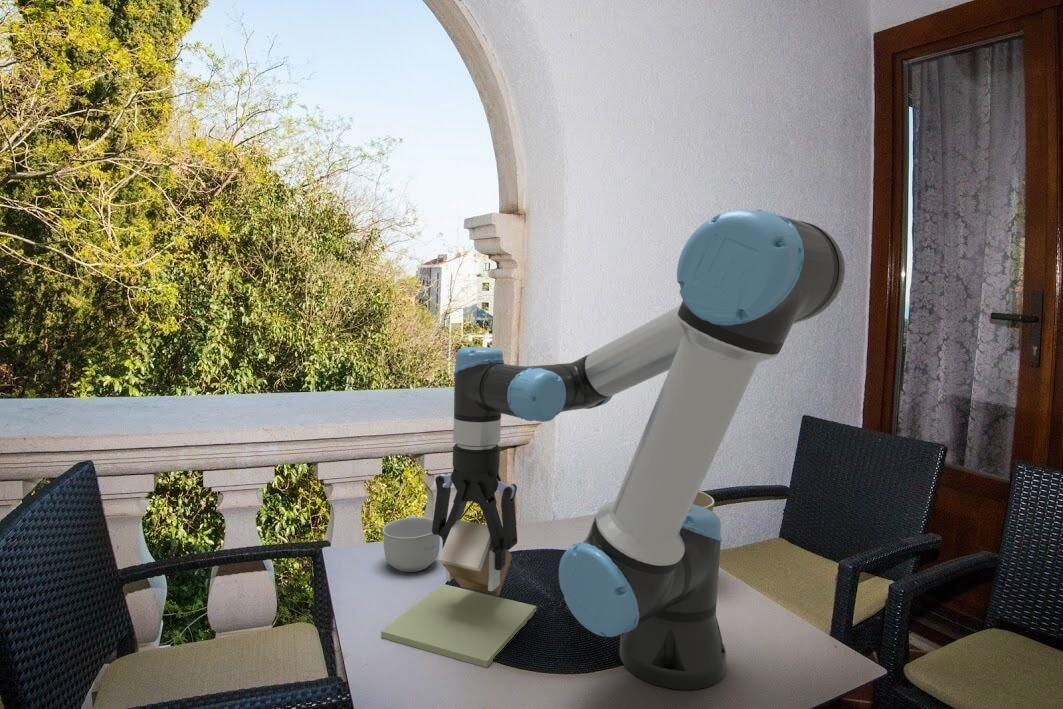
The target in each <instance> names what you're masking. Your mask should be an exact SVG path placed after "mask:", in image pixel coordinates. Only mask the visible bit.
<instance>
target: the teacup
mask: <svg viewBox="0 0 1063 709" xmlns="http://www.w3.org/2000/svg"><path fill="white" fill-rule="evenodd" d="M432 525H433V518H430V517H428V516H427V517H423V516H417V514H409V515H408V517H403V518H402V517H401V518H399V519H394V520H392V521H390V522H388V523H386V524H385V525H384V526H383V527H382V529H381V530H382V531H381V532H382V537H383V539H382V540H383V550H384V552H383V553H384V556H385V560H386V561H387V563H388V564H389V565H390V566H392V567H393V568H395V569H396V570H397V571H399V572H404V573H415V572H420V571H423V570H425V569H426V568H428V567H430V566H431V564H432V563H434V562H435V561H436V560H437V558H438V556H439V554H440V549H441V548H440V545H441V544H440V543H441V541H440V540H441V537H440V536H439V535H434V534H433V533H432Z"/></svg>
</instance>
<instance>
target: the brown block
mask: <svg viewBox="0 0 1063 709" xmlns="http://www.w3.org/2000/svg"><path fill="white" fill-rule="evenodd" d="M492 548H494V547H493V544H492V540H491V537H490V533H489V530H488V527H487V524H483V523H477V522H471V521H466V520H461V519H460V520H457V521H456V522H455V524H454V525H453V527H452V528H451V530H450V532H449V535H448V537H447V540H446V542H445V545H444V547H443V549H441V552H440V553H439V554H440V555H439V557H438V561H439V562H440V564H442V566H443V567H444V568H445V569H447V570H448V572H449V573H450V574H451V575H452V576H453V578H454V580H455V581H456V583H458V585H459V587H460V588H462V589H466V590H471V591H475V592H479V593H483V594H488V595H492V596H496V597H500V594H501V591H502V587H503V585H504V582H505V580H506V579H505V578H506V576H507V572H508V570H509V567H510V564H511V561H512V559H513V555H512V553H511V552H510V549H509V550H507V549H506V556H505V566H504V568H502V569H501V570H500V585H499V586H498V587H497V588H495V589H494V590H493V591H488V578H489V551H490V550H491V549H492Z"/></svg>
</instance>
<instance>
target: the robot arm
mask: <svg viewBox="0 0 1063 709" xmlns="http://www.w3.org/2000/svg"><path fill="white" fill-rule="evenodd" d="M845 265H846V263H845V258H844V256H843V251H842V250H841V248H840V247H839V245H838V243H837V241H836V240H835V239H834V238H833V237H832V235H831V234H829V233H828V232H827V231H826V230H824V229H823V228H822V227H819V226H818V225H815V224H813V223H809V222H805V221H802V220H795V219H793V218H789V217H786V216H783V215H780V214H777V213H776V212H772V211H771V212H770V211H765V210H763V209H731V210H727V211H724V212H721V213H720V214H716V215H715V216H713V217H711V218H709V219H708V220H706V221H705V222H703V223H702V224H701V225H700V226H698V227H697V228H696V229H695V231H694V232H693V233H692V234H691V235H690V236H689V238H688V239H687V241H686V243H685V244H684V246H683V248H682V250H681V252H680V255H679V258H678V262H677V269H676V282H677V283H678V284H679V287H680V288H679V289H680V290H679V295H680V297H681V300H682V301H681V303H680V305H678V306H676V307H674V308H672V309H670V310H668V311H666V312H665V313H662V314H661V315H659V316H658V317H655V318H654V319H652V320H649V321H648V322H646V323H644V324H642V325H640V326H638V327H636V328H635V329H633V330H631V331H629V332H627V333H625V334H623V335H622V336H620V337H618V338H616V339H614V340H612V341H610V342H609V343H607V344H604V345H603V346H601V347H598V348H597V349H596V350H594V351H592V352H590V353H589V354H587V355H584V356H583V357H581V358H579V359H577V360H574V361H572V362H566V363H556V364H544V365H543V364H541V365H527V366H526V365H525V366H524V365H515V364H514V365H513V364H506V363H505V359H504V353H503V351H502V349H499V348H496V347H487V346H484V347H483V346H468V347H467V346H465V347H462V348H460V349H458V350H457V352H456V353H455V354H456V355H455V365H454V372H453V376H454V380H453V381H454V383H453V384H454V389H453V391H454V392H453V395H454V396H453V398H454V399H453V428H452V429H453V430H452V431H453V432H452V434H453V435H452V441H453V443H455V444H454V445H453V446H452V468H453V469H452V471H451V474H449V473H447V472H445V473H442V474H440V475H438V476H436V477H435V479H434V480H435V486H436V494H435V495H436V496H435V503H434V504H435V505H434V511H433V518H432V519H433V525H432V533H433V534H434V535H439V536H440V539H441V540H442V546H441V547H442V549H443V547H444V545H445V542H446V540H447V537H448V535H449V532H450V530H451V528H452V527H453V525H454V524H455V522H456V521H457V520H461V519H462V517H463V514H464V512H465V510H466V507H467V504H468V502H473V503H475V504H477V505H479V509H480V510H481V511H482V513H483V516H484V519H485V522H486V525H487V527H488V530H489V533H490V537H491V540H492V544H493V547H494V548H492V549H491V550H490V551H489V578H488V591H493V590H494V589H495V588H497V587H498V586H499V585H500V570H501V569H502V568H504V566H505V556H506V549H507V550H509V551H510V550H511V549H512V548H513V547H514V546H516V545H517V544H518V531H517V530H518V529H517V518H516V517H517V516H516V503H515V502H516V501H515V497H516V493H517V490H518V489H517V488H518V487H517V485H516V484H515V483H511V484H508V483H507V482H506V483H505V482H503V481H502V479H501V477H500V473H499V472H500V465H501V464H500V463H501V462H500V461H501V460H500V459H501V458H500V457H501V448H500V445H499V443H500V442H501V430H502V428H501V426H502V425H501V423H502V415H507V416H511V417H514V418H519V419H521V420H525V421H527V422H534V421H536V422H542V423H547V422H551V421H553V419H555V417H557V416H558V415H559V414H560V413H564V412H569V411H575V410H577V411H578V410H582V409H583V410H584V409H585V410H590V409H594V408H597V407H599V406H600V407H601V406H603V405H605V404H607V403H608V402H610V401H611V400H612V398H613V396H614V395H616V394H619V393H621V392H623V391H625V390H627V389H630V388H632V387H634V386H637V385H638V384H641V383H643V382H645V381H648V380H650V379H652V378H654V377H657V376H659V375H661V374H664V373H666V372H667V375H666V377H665V380H664V382H663V384H662V387H661V389H660V391H659V394H658V396H657V399H656V401H655V403H654V406H653V408H652V409H651V410H652V411H651V413H650V416H649V419H648V420H647V423H646V425H645V428H644V430H643V432H642V435H641V437H640V440H639V441H638V444H637V447H636V449H635V452H634V453H633V457H632V459H631V461H630V465H629V466H628V469H627V471H626V474H625V476H624V478H623V480H622V484H621V486H620V488H619V491H618V492H617V495H616V498H615V500H614V501H613V502H608V503H605V504H603V505H602V506H600V507H599V509H598V510H597V512H596V514H595V516H594V518H593V522H592V524H591V527H590V529H589V532H588V534H587V537H586V538H585V539H584V541H582V542H581V541H580V542H576V543H574V544H572V545H571V547H569V548H568V549H567V550H566V551H565V552H564V553H563V554H562V556H561V558H560V561H559V566H558V582H559V586H560V590H561V592H562V595H563V596H564V599H563V600H564V601H565V604H566V606H567V607H568V609H569V611H570V612H571V614H572V616H574V618H575V619H576V620H577V621H578V622H579V623H580V624H581V625H582V626H583V627H584V628H585V629H587V630H588V631H590V632H591V633H594V634H595V635H598V636H600V637H607V638H608V637H609V638H614V637H618V636H620V639H619V657H620V660H621V662H622V664H623V666H625V668H626V669H627V670H629V671H630V672H631V673H632V674H633V675H635V676H636V677H637V678H639V679H641V680H643V681H645V682H647V683H649V684H652V685H656V686H659V687H663V688H668V689H673V690H683V691H684V690H686V691H687V690H689V691H691V690H692V691H693V690H700V689H705V688H708V687H710V686H713V685H715V684H717V683H718V682H719V681H721V679H722V678H723V677H724V675H725V673H726V663H727V653H726V652H727V651H726V648H725V644H724V643H723V638H722V637H723V636H722V633H721V629H720V626H719V622H718V618H717V600H718V586H719V571H720V557H721V556H720V555H721V544H722V540H723V539H722V538H723V537H721V536H722V534H721V532H722V529H721V527H722V525H721V523H722V522H721V519H720V518H719V516H718V515H717V514H716V513H715V512H713V511H710V510H708V509H706V508H703V507H701V506H697V505H694V504H693V502H694V500H695V498H696V496H697V493H698V491H700V489H701V487H702V485H703V482H704V480H705V479H706V476H707V474H708V472H709V470H710V468H711V466H712V463H713V460H714V459H715V456H716V455H717V452H718V450H719V449H720V446H721V445H722V444H721V443H722V441H723V439H724V437H725V435H726V433H727V431H728V428H729V426H730V425H731V423H732V420H733V418H734V417H735V413H736V412H737V409H738V407H739V404H740V403H741V400H742V398H743V397H744V395H745V392H746V390H747V388H748V385H749V384H750V381H751V379H752V377H753V375H754V372H755V371H756V368H757V366H758V365H759V364H760V363H761V362H764V361H767V360H770V359H773V358H776V357H777V356H778V355H779V354H780V352H781V350H782V348H783V346H784V345H785V344H784V343H785V341H786V339H787V338H788V336H789V333H790V331H791V329H792V327H793V325H795V324H799V323H800V322H801V323H802V322H804V321H807V320H809V319H810V320H811V319H812V318H814V317H817V316H818V315H820V314H821V313H823V312H824V311H825V310H826V309H828V308H829V307H830V305H832V304H833V302H834V301H835V300H836V298H837V297H838V295H839V294H840V292H841V291H842V288H843V284H844V280H845V274H846V266H845ZM452 485H453V486H454V488H455V490H456V493H455V496H454V498H453V505H452V507H451V509H450V511H449V506H450V497H451V492H452V491H451V490H452V489H451V488H452ZM497 490H498V491H499V497H500V498H501V500H500V508H501V518H500V514H499V511H498V506H497V502H498V501H497V498H496V495H495V493H496V492H497ZM448 513H449V514H448ZM501 519H502V520H501ZM442 549H441V550H442ZM445 569H446V568H445ZM453 579H454V578H453V576H452V575H451V574H450V573H449V572H448V570H447V569H446V570H445V581H447V582H451V581H452V580H453ZM454 580H455V579H454Z"/></svg>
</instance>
